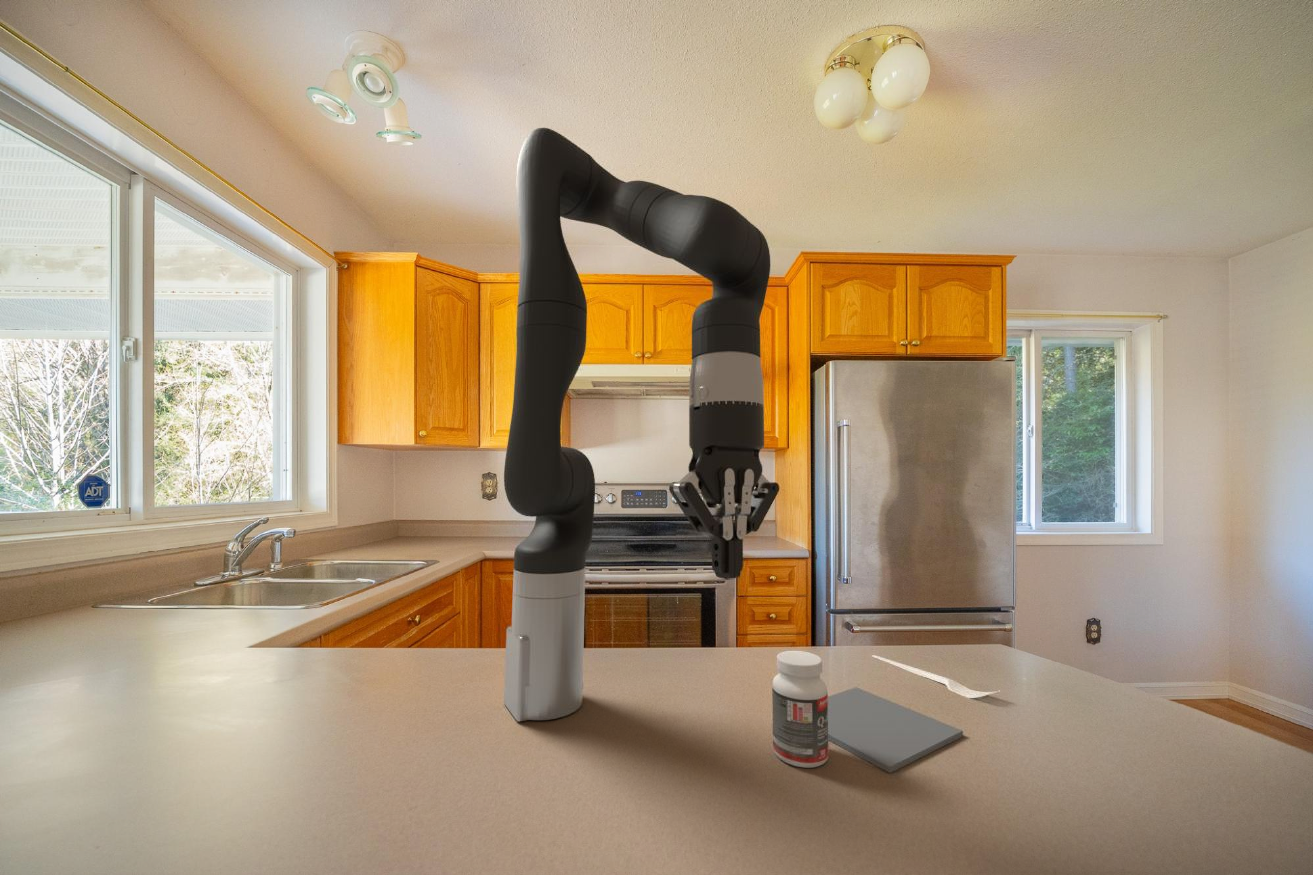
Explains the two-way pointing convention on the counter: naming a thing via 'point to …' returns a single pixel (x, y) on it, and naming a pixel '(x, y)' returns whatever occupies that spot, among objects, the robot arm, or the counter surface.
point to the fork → (940, 680)
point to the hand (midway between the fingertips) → (727, 577)
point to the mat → (884, 729)
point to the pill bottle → (800, 710)
